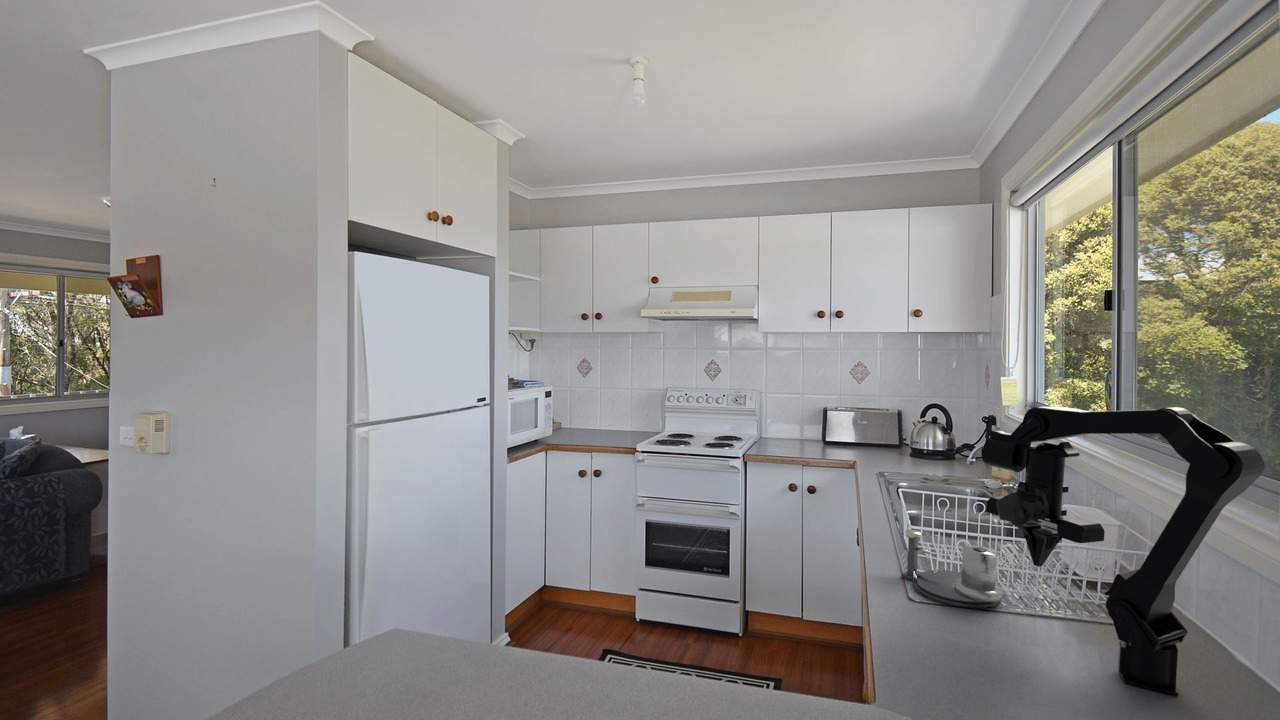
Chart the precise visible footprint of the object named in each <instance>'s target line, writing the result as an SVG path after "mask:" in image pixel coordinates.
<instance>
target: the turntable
mask: <svg viewBox="0 0 1280 720" xmlns="http://www.w3.org/2000/svg"><path fill="white" fill-rule="evenodd" d="M933 570H934V569H931V570H926V571H922V572H921V571H920V572H919V573H918V575H917V579H915V580H914V581H913V588H914V589H916V590H917V591H918V592H917V591H916V590H915V591H916V592H917V593H919V594H920V595H921V594H922V595H921V596H923V597H925V598H927V599H929V598H930V600H932V599H933V601H934V600H935V602H937V601H939V602H938V603H941V604H945V605H947V606H952V607H957V608H965V609H974V610H975V609H982V608H984V609H988V608H987V607H992V606H995V605H997V606H999V605H1000V604H1001V603H1002V600H1000V601H997V602H983V601H977V600H972V599H969V598H966V597H963V596H961V595H959V594H957V593H956V592H955V591H954V581H955V580H956V579H958V578H961V574H962V572H960V571H959V572H958V571H955V570H954V571H953V570H941V569H936V571H937V572H936V573H934V571H933ZM1000 602H1001V603H1000ZM999 603H1000V604H999ZM998 604H999V605H998ZM995 607H996V606H995ZM992 608H993V607H992Z"/></svg>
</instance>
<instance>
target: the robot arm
mask: <svg viewBox="0 0 1280 720" xmlns="http://www.w3.org/2000/svg"><path fill="white" fill-rule="evenodd" d="M989 434H990V436H989V437H988V438H986V440H985V442H984V443H983V446H982V448H981V452H980V453H981V459H982V461H983V463H984V464H985V465H986V466H988V467H993V468H997V469H1003V470H1005V471H1010V472H1011V471H1012V472H1014V473H1015V472H1016V473H1021V472H1022V471H1024V470H1025V473H1024V474H1025V475H1024V480H1020V481H1019V482H1018V485H1017V489H1016V491H1015V492H1012V493H1008V494H1007V495H1000V496H990V497H989V499H988V500H987V501H986V502H985V503H986V504H985V505H986V506H985V512H986V513H989V514H992V515H995V516H997V517H999V518H998V519H1000V520H1002V521H1006V522H1010V523H1011V525H1013V526H1014V527H1016V528H1017V529H1018V531H1020V532H1021V533H1022V534H1023V537H1024V539H1025V543H1026V544H1027V547H1028V550H1029V554H1030V557H1031V560H1032V563H1033V565H1034V566H1036V567H1037V568H1039V567H1043V565H1044V564H1045V563H1046V562H1047V559H1048V558H1049V556H1050V555H1051V553H1052V552H1053V550H1055V547H1057V545H1058V544H1059V543H1060V542H1061V540H1063V539H1065V540H1068V541H1070V542H1074V543H1077V544H1087V543H1089V544H1090V543H1097V542H1099V543H1100V542H1105V532H1106V530H1105V528H1104V527H1103V525H1102V524H1101V523H1099V522H1096V521H1092V520H1089V519H1086V518H1083V517H1076V518H1075V517H1074V518H1062V517H1064V516H1065V517H1067V515H1068V514H1067V513H1068V512H1067V511H1068V510H1067V509H1065V508H1063V507H1062V506H1063V495H1064V493H1069V486H1068V485H1065V484H1064V480H1065V479H1064V478H1065V465H1066V458H1075V457H1080V452H1079V451H1078V450H1077V449H1076V448H1074V447H1073V446H1072V444H1071V442H1070V441H1061V442H1059V443H1058V444H1056V443H1049V442H1047V441H1050V440H1061V439H1070V438H1074V437H1079V436H1085V435H1089V434H1090V435H1091V434H1092V435H1094V434H1098V435H1099V434H1103V435H1104V434H1107V435H1110V434H1114V435H1115V434H1117V435H1118V434H1119V435H1120V434H1124V435H1125V434H1126V435H1127V434H1130V435H1131V434H1135V435H1137V434H1142V435H1143V434H1145V435H1147V434H1151V435H1152V434H1159V435H1161V436H1162V437H1163V438H1164V439H1165V440H1166V441H1167V442H1168V444H1169V445H1170V446H1171V448H1172V449H1173V450H1174V451H1175V453H1176V454H1178V455H1179V456H1180V457H1181V458H1182V459H1183V460H1185V461H1186V462H1187V463H1188V464H1189V465H1188V468H1187V471H1186V474H1185V492H1184V495H1183V497H1182V499H1181V500H1180V502H1179V504H1178V505H1177V507H1176V508H1175V510H1174V512H1173V513H1172V515H1171V516H1170V518H1169V520H1168V521H1167V523H1166V525H1165V526H1164V528H1163V530H1162V531H1161V533H1160V535H1159V537H1158V538H1157V540H1156V541H1155V543H1154V544H1153V546H1152V548H1151V550H1150V551H1149V552H1148V555H1147V556H1146V558H1145V559H1144V561H1143V563H1142V565H1140V568H1135V569H1130V570H1128V571H1124V572H1119V573H1117V574H1116V575H1115V577H1114V578H1113V582H1112V585H1111V587H1109V589H1108V590H1107V591H1105V592H1103V594H1104V596H1107V598H1106V601H1105V609H1106V611H1107V613H1108V614H1107V615H1108V616H1109V617H1110V619H1111V620H1112V621H1113V625H1114V629H1115V632H1116V636H1117V639H1118V640H1119V642H1118V654H1117V669H1118V673H1119V674H1120V675H1121V677H1122V681H1123V683H1124V684H1127V685H1128V684H1129V685H1132V686H1136V687H1140V688H1144V689H1148V690H1153V691H1155V692H1161V693H1163V694H1164V693H1165V694H1168V695H1172V696H1179V690H1178V687H1177V678H1178V677H1177V675H1178V674H1177V673H1178V657H1179V649H1178V646H1177V644H1179V643H1183V642H1184V640H1185V638H1186V637H1187V636H1188V634H1189V631H1188V629H1187V628H1186V627H1185V626H1184V625H1183V624H1182V622H1181V621H1180V620H1179V619H1178V618H1177V616H1176V615H1175V614H1174V612H1173V611H1172V609H1173V606H1174V603H1175V600H1176V584H1177V581H1178V580H1179V578H1180V577H1181V575H1182V574H1183V572H1184V570H1185V569H1186V567H1187V566H1188V564H1189V563H1190V561H1191V559H1192V558H1193V556H1194V555H1195V553H1196V551H1198V549H1199V547H1200V546H1201V544H1202V542H1203V541H1204V539H1205V537H1206V536H1207V535H1208V533H1209V531H1210V530H1211V528H1212V527H1213V525H1214V523H1215V522H1216V521H1217V519H1218V517H1219V516H1220V514H1221V512H1222V511H1223V509H1224V508H1226V506H1227V505H1228V504H1230V503H1231V502H1233V500H1234V499H1236V498H1237V497H1239V496H1240V495H1242V494H1243V493H1244V492H1245V491H1247V490H1248V488H1249V487H1251V485H1252V484H1254V483H1255V482H1256V481H1257V480H1258V479H1259V478H1260V477H1261V475H1262V474H1263V473H1264V471H1265V468H1266V467H1265V465H1266V464H1265V461H1264V460H1263V457H1262V455H1261V454H1260V452H1259V451H1258V450H1257V449H1256V448H1254V446H1251V445H1249V444H1247V443H1244V442H1241V441H1237V440H1235V439H1233V437H1231V436H1229V435H1228V434H1226V433H1225V432H1223V431H1221V430H1220V429H1218V428H1216V427H1215V426H1212V425H1210V424H1209V423H1207V422H1205V421H1203V420H1201V419H1200V418H1199V417H1198V416H1196V415H1195V414H1193V413H1192V412H1190V410H1188V409H1186V408H1183V407H1179V406H1178V407H1175V406H1174V407H1162V408H1158V409H1136V410H1135V409H1134V410H1132V409H1131V410H1129V409H1128V410H1103V411H1101V410H1100V411H1097V410H1096V411H1095V410H1094V411H1090V410H1085V409H1084V410H1083V409H1080V408H1073V407H1067V406H1061V405H1060V406H1056V405H1055V406H1054V405H1053V406H1035V407H1030V408H1029V409H1028V410H1026V412H1025V414H1024V415H1023V418H1022V422H1020V424H1019V425H1018V426H1017V427H1016V428H1015V429H1014V430H1013V431H1012V433H1010V432H1006V431H1004V430H990V433H989ZM1037 442H1041V443H1038V445H1032V443H1037Z"/></svg>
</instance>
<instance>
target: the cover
mask: <svg viewBox="0 0 1280 720" xmlns="http://www.w3.org/2000/svg"><path fill="white" fill-rule="evenodd" d="M961 554H962V557H961V573H962V574H961V578H958V579H956V580H955V581H954V591H955V592H956V593H957V594H959V595H961V596H963V597H966V598H969V599H972V600H977V601H983V602H997V601H1000V600H1001V601H1002V599H1003V588H1002V586H1000V585H999V584H996V583H997V565H998V564H997V563H998V551H996V550H995V549H993V548H990V547H988V546H987V547H986V546H982V545H971V544H970V545H969V544H968V545H964V546H962V553H961Z"/></svg>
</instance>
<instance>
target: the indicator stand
mask: <svg viewBox="0 0 1280 720" xmlns="http://www.w3.org/2000/svg"><path fill="white" fill-rule="evenodd" d="M905 537H906V538H908V543H907V544H908V547H907V548H908V549H907V566H906V567H907V568H906V569H907V570H906V571H905V572H902V573H901V578H903V579H905V580H908V581H911V580H915V578H914V577H913V571H915V573H916V575H918V574H919V573H918V555H919V554H918V552H921V553H925V554H928V555H931V554H932V553H931V551H930V550H927V549H923V548H920V547H919V539H922V537H923V532H922V531H920V530H917V529H905Z"/></svg>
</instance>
